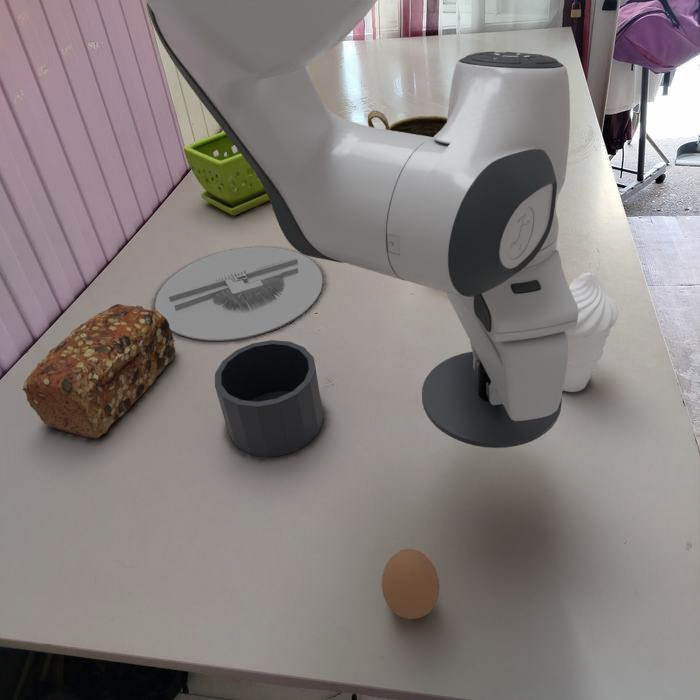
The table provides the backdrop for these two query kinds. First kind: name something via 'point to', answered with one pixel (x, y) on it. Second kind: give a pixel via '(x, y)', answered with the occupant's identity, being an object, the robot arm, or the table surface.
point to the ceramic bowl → (412, 124)
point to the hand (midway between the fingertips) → (490, 386)
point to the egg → (410, 584)
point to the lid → (475, 407)
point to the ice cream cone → (588, 330)
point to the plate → (239, 293)
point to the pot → (270, 397)
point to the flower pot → (225, 175)
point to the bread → (100, 370)
